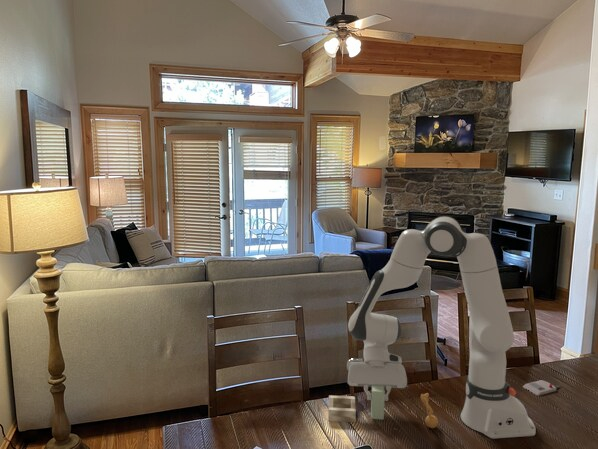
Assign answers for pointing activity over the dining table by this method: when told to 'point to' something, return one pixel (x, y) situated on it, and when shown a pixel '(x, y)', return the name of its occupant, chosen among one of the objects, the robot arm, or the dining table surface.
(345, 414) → the beige square socket frame
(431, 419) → the figurine
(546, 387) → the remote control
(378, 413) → the sage-green peg
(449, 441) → the dining table surface
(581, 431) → the dining table surface
